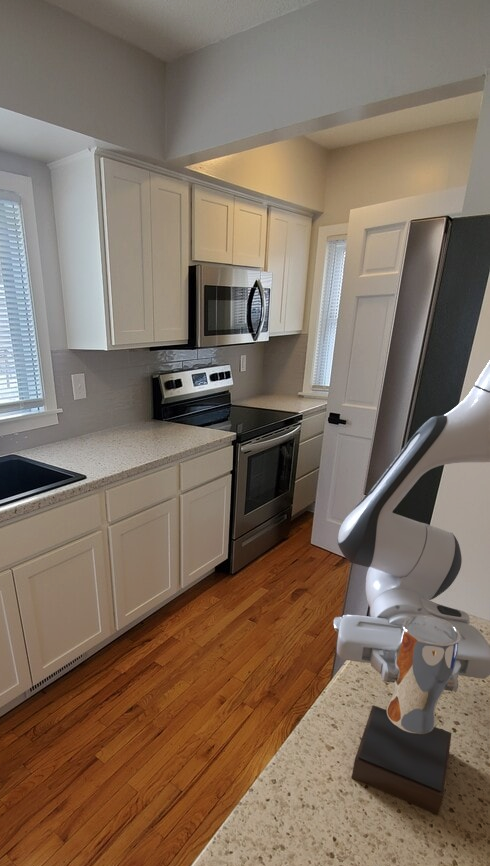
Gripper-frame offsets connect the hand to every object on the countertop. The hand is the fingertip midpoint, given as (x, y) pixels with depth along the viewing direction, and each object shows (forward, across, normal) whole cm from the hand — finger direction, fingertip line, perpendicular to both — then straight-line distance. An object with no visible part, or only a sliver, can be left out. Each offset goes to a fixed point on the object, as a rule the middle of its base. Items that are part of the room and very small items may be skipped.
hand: (420, 682), depth 64 cm
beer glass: (-1, 0, +7) cm, 7 cm away
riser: (-1, 0, +16) cm, 16 cm away
